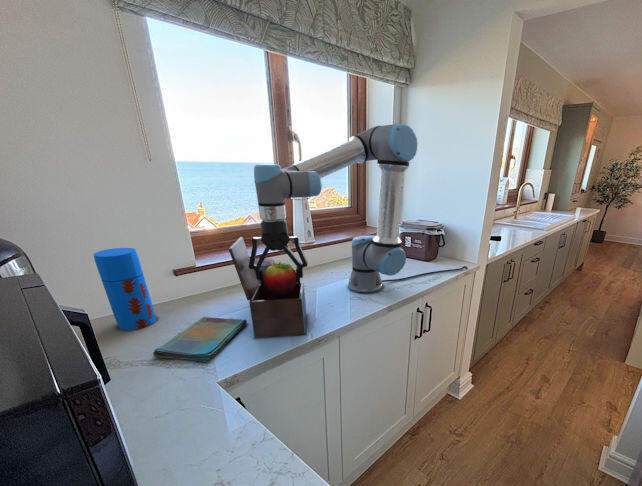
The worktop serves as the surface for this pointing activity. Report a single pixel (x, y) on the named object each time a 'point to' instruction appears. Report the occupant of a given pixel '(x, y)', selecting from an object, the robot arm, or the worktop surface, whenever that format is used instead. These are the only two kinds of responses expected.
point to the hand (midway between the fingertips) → (281, 287)
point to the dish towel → (201, 339)
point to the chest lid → (243, 267)
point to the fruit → (280, 278)
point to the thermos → (125, 287)
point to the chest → (278, 313)
